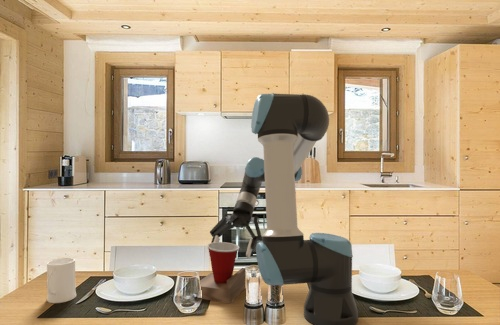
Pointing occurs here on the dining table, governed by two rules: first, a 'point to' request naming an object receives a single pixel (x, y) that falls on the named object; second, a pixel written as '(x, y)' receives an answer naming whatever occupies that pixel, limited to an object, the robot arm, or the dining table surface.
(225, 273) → the plastic cup
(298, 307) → the dining table surface
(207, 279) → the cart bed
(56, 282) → the mug
